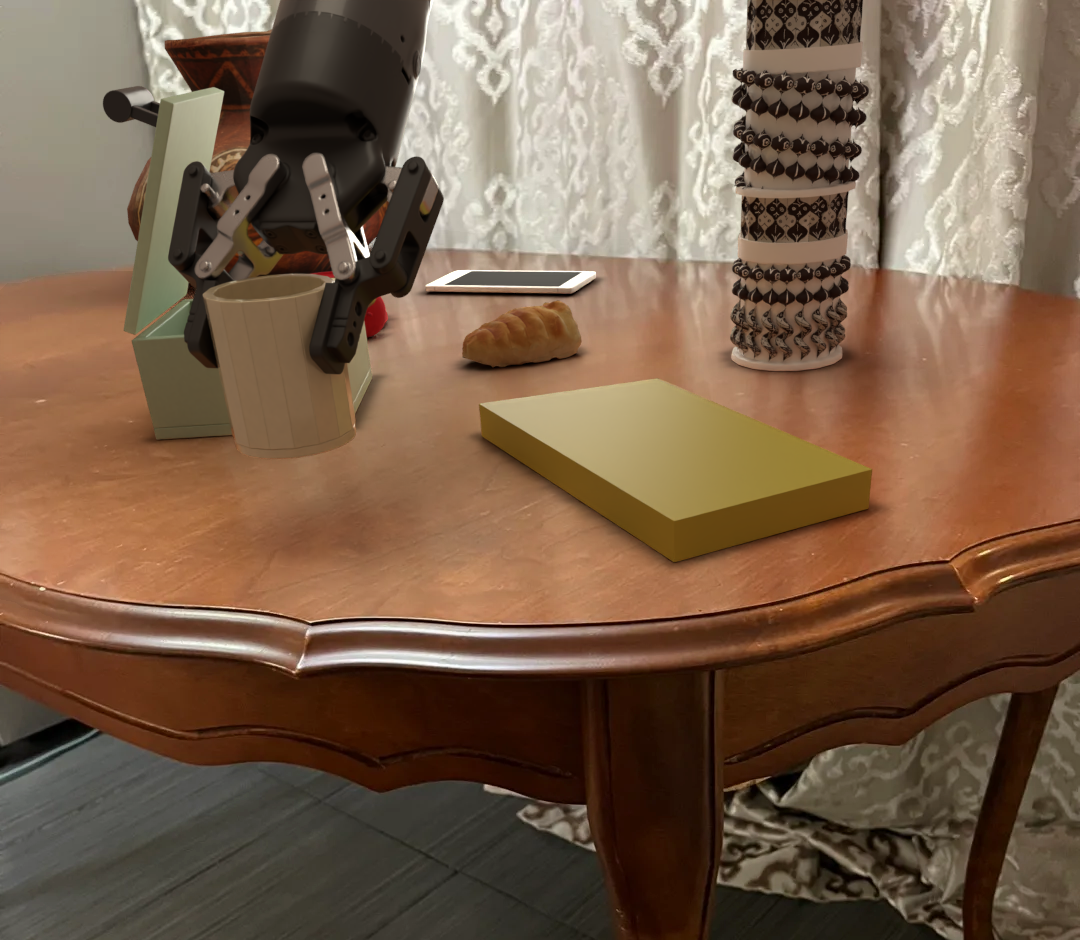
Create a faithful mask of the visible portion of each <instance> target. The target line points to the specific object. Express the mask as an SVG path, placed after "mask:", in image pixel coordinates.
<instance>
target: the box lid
mask: <svg viewBox="0 0 1080 940" xmlns="http://www.w3.org/2000/svg"><path fill="white" fill-rule="evenodd" d="M223 96H224V91H222V90H220V89H217V88H215V87H212V88H207V89H203V90H198V91H194V92H192V91H189V92H185V93H181V94H175V95H172V96H171V95H170V96H167V97H162V98H160V100H159V102H158V101H155V98H154V96H153V94H152V93H151V91H150V90H149V89H148V88H146V87H144V86H142V85H135V86H129V87H124V88H117V89H112V90H109V91H108V92H106V93H105V95H104V96H103V99H102V108H103V111H104V113H105V115H106V116H107V117H108V118H109V120H111V121H113V122H115V123H117V124H118V123H119V124H123V123H125V122H126V123H127V122H130V121H134V120H136V121H138V122H141V123H144V124H146V125H148V126H151V127H153V128H155V130H154V138H153V143H152V150H151V156H150V157H151V162H150V168H149V175H148V181H147V187H146V193H145V199H144V206H143V212H142V218H141V224H140V231H139V237H138V241H137V244H136V249H135V256H134V262H133V268H132V273H131V274H132V275H131V281H130V287H129V293H128V300H127V305H126V312H125V318H124V324H123V332H125V333H128V334H130V335H134V336H135V335H136V336H137V334H138V333H140V332H141V331H142V330H144V329H146V327H147V326H148V325H150V324H152V323H153V321H155V320H156V319H158V318H160V316H161V315H163V314H165V313H166V311H169V309H170V308H171V307H173V306H175V305H176V304H177V302H178V303H179V301H181V300H183V299H184V297H185V296H187V294H188V289H189V284H190V283H189V282H188V281H187V280H186V279H185V278H184V277H183V276H182V275H181V274H180V273H179V272H178V271H177V270H176V269H175V268H174V267H173V266H172V265H171V264H170V262H169V260H168V254H169V249H170V243H171V238H172V232H173V227H174V222H175V216H176V211H177V205H178V200H179V194H180V189H181V184H182V178H183V173H184V170H185V168H186V167H187V166H188V165H189V164H190V163H192V162H196V161H198V162H201V163H202V164H203V165H204V166H205V168H206V169H207V170H208V171H210V166H211V161H212V155H213V150H214V145H215V139H216V134H217V129H218V123H219V118H220V112H221V107H222V102H223Z"/></svg>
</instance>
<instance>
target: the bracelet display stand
mask: <svg viewBox="0 0 1080 940" xmlns="http://www.w3.org/2000/svg"><path fill="white" fill-rule="evenodd" d="M863 5H864V0H746V31H745V32H746V36H745V49H743V50H742V52H743V53H742V55H743V56H742V67H741V68H740V69H738V68H735V69H732V73H731V74H732V77H733V78H734V79H735V80H736V81H738V82H740V85H739V86H737V87H736V88H734V90H733V92H732V95H731V102H732V104H734V105H735V106H737V107H739V109H740V111H741V110H743V111H744V112H745V115H744V114H742V115H741V118H739V119H738V120H737V121H735V123H734V124H733V130H732V134H733V136H734V138H735V139H738V140H739V141H740V142H739V143H738V144H737V145H736V146H735V147H734V148H733V154H732V160H733V161H734V162H736V163H738V165H740V166H741V168H744V170H743V171H742V173H741V174H740V175H738V176H737V177H736V178H735V179H734V185H733V187H735V194H736V195H739V196H741V201H740V203H741V207H740V232H739V234H738V236H737V259H735V260H734V261H733V263H732V267H731V271H732V273H733V274H734V275H737V276H739V279H738V280H735V282H733V284H732V288H731V294H732V295H733V296H735V297H737V298H738V301H737V303H736V304H735V305H734V306H732V309H731V312H730V320H731V321H732V323H733V324H734V327H733V328H732V329H731V332H730V334H729V340H730V341H731V343H732V344H733V345H734V347H733V348H732V350H731V355H730V360H731V361H733V363H735V364H736V365H738V366H742V367H745V368H749V369H753V370H759V371H770V372H799V371H807V370H815V369H820V368H824V367H827V366H831V365H834V364H836V363H838V361H840V360H841V359H843V347H842V346H841V345H840V343H842V342H843V341H844V340H845V339H846V327H845V326H844V325H843V324H842V322H843V321H844V320H846V319H847V318H848V306H847V305H846V304H845V303H844V302H843V301H842V299H841V297H842V295H843V294H846V293H847V292H848V291H849V290H850V289H849V288H850V285H849V281H848V279H846V278H845V277H843V276H842V275H843V274H845V273H846V272H847V271H849V270H850V269H851V266H852V264H851V258H850V257H849V256H847V253H848V252H847V250H848V237H849V231H848V229H847V217H848V205H849V193H850V191H853V190H855V189H856V185H857V183H856V181H858V180H859V178H860V172H859V171H858V170H856V168H854V167H853V166H852V163H853V160H855V159H856V158H857V157H859V156H860V155H861V154H862V153H863V148H862V146H861V145H860V144H859V143H856V141H855V139H854V138H853V139H852V138H851V137H852V129H853V127H854V128H855V129H854V131H857V128H858V127H859V126H861V125H862V124H864V123H865V122H866V121H867V118H868V117H867V114H866V113H865V112H864V111H863V110H861V109H860V108H859V106H857V108H856V109H855V107H854V102H855V104H856V105H858V104H859V103H860V102H861V101H862V100H864V99H865V98H866V97H868V95H869V93H870V89H869V87H868V86H867V85H865V84H864V83H862V80H861V78H859V79H860V80H859V81H858V80H857V78H856V72H857V68H861V66H862V56H863V41H862V40H861V32H862V23H863Z"/></svg>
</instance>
